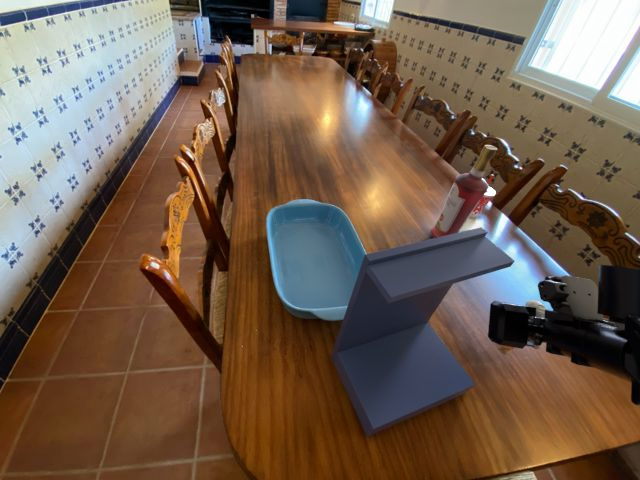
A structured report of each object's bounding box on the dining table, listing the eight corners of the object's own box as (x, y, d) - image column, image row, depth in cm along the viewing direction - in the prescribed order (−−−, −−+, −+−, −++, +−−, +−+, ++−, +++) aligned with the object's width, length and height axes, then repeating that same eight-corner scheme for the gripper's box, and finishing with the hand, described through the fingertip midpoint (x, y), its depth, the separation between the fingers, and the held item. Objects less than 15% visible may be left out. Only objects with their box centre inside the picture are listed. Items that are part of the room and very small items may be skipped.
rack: (465, 393, 52) (572, 300, 34) (367, 437, 46) (435, 351, 28) (417, 327, 62) (481, 227, 44) (330, 356, 56) (364, 254, 38)
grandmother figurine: (477, 331, 58) (510, 290, 50) (490, 325, 59) (524, 283, 52) (514, 368, 52) (558, 328, 45) (528, 360, 54) (573, 320, 46)
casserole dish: (386, 330, 60) (396, 311, 56) (278, 344, 57) (280, 324, 52) (336, 216, 88) (340, 196, 84) (261, 220, 85) (261, 200, 80)
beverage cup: (483, 213, 94) (507, 175, 86) (478, 221, 91) (502, 183, 82) (463, 204, 97) (484, 167, 89) (457, 212, 94) (478, 174, 85)
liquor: (424, 228, 86) (467, 139, 69) (448, 230, 87) (498, 141, 69) (433, 246, 81) (483, 154, 63) (459, 248, 81) (516, 156, 63)
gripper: (686, 295, 37) (575, 282, 53) (532, 272, 39) (467, 266, 54) (686, 387, 36) (572, 346, 52) (527, 359, 38) (462, 328, 53)
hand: (517, 319), depth 53 cm, fingers closed on grandmother figurine, 3 cm apart
